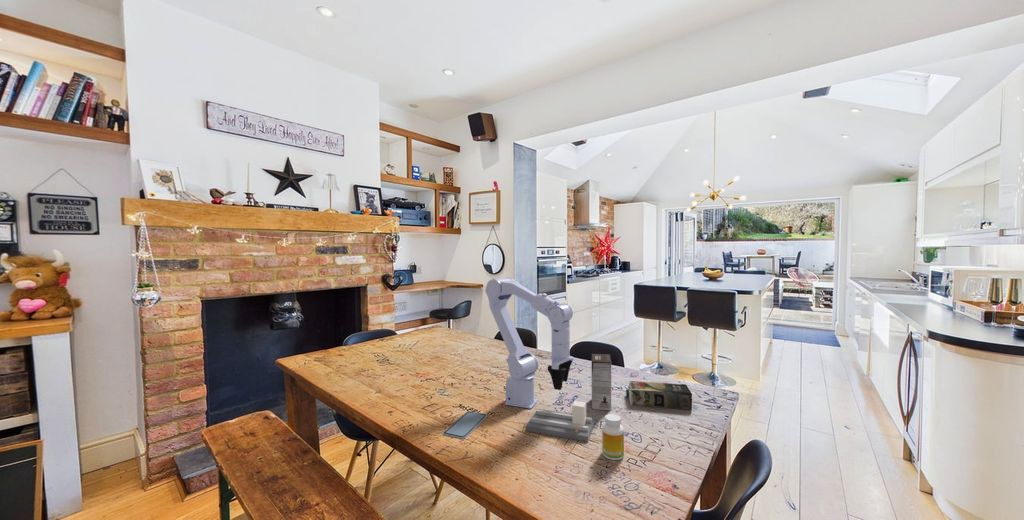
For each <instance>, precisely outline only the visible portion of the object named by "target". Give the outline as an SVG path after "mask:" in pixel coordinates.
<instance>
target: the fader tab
mask: <svg viewBox="0 0 1024 520" xmlns="http://www.w3.org/2000/svg"><path fill="white" fill-rule="evenodd" d="M571 407H572V411H571V414H572V424H576V425H582V426H585V423H586V416H587V401H586V402H584V401H578V400H574V401H573V404H572V406H571Z"/></svg>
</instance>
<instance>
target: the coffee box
mask: <svg viewBox="0 0 1024 520" xmlns="http://www.w3.org/2000/svg"><path fill="white" fill-rule="evenodd" d="M611 358H612V357H611V354H610V353H608V354H607V353H606V354H605V353H603V354H602V353H591V409H592V410H598V411H599V410H601V411H612V359H611Z"/></svg>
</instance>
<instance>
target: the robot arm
mask: <svg viewBox="0 0 1024 520" xmlns="http://www.w3.org/2000/svg"><path fill="white" fill-rule="evenodd" d="M484 292H485V293H486V296H487V298H488V306H489V309H490V311H491V314H492V316H493V318H494V321H495V323H496V326H497V328H498V330H499V333H500V335H501V337H502V340H503V342H504V344H505V346H506V349H507V351H508V356H507V359H506V362H507V367H508V372H509V375H508V376H507V379H506V382H505V402H504V405H506V406H512V407H517V408H525V409H530V410H531V409H532V408H533V407H534V406H535V405H536V403H537V402H538V400H539V398H537V397H535V375H536V372H537V370H538V369H539V361H538V360H537V357H536V356H534V354H533V353H532V352H531V350H530V349H529V348H527V347H525V346H524V344H523V341H522V339H521V338H520V335H519V333H518V331H517V328H516V326H515V324H514V321H513V319H512V317H511V315H510V313H509V310H508V307H507V304H508V302H509V300H510V298H511V297H512V295H514V296H515V297H518V298H520V299H522V300H524V301H526V302H528V303H530V304H531V308H532V309H533V310H534V311H537V312H539V313H540V314H541V315H543V316H545V317H547V319H548V320H549V322H550V328H551V354H550V355H551V356H550V358H551V359H550V360H551V365H548V366H547V372H548V373H549V375H550V378H551V380H552V385H553V389H554V390H558V391H561V390H562V389H563V382H567V381H568V378H569V374H570V373H569V372H570V368H571V366H572V363H573V361H574V356H572V355H570V354H571V353H570V350H571V349H570V348H571V343H570V341H571V337H570V335H571V334H570V333H571V332H570V331H571V330H570V329H571V328H570V323H571V322H570V320H572V318H573V311H574V310H573V309H572V306H571V305H569V304H568V303H565V302H564V303H560V301H559V300H554V299H552V298H550V297H548V294H547V293H537V294H536V293H535V292H533V291H531V290H530V289H528V288H527V287H525V286H524V285H522V284H520V283H519V282H518V281H517V280H516V279H513V278H511V277H508V276H507V277H504V278H496V279H495V278H492V279H489V280H488V282H486V287H485V289H484Z"/></svg>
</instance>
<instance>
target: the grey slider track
mask: <svg viewBox="0 0 1024 520" xmlns="http://www.w3.org/2000/svg"><path fill="white" fill-rule="evenodd" d="M595 423H596V417H593V416H588V415H586V423H585V426H582V425H576V424H572V413H567V412H561V411H555V410H548V409H544V408H543V409H540V408H537V409H536V410H535V412H534V414H533V415H532V416H531V417H530V419H529V421H528V422H527V423H526V424H525V431H526V432H532V433H535V434H536V433H537V434H543V435H547V436H552V437H553V436H554V437H559V438H565V439H568V440H569V439H571V440H575V441H580V442H587V443H588V442H589V440H590V439H591V438H590V437H591V435H592V432H593V429H594V426H595Z"/></svg>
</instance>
